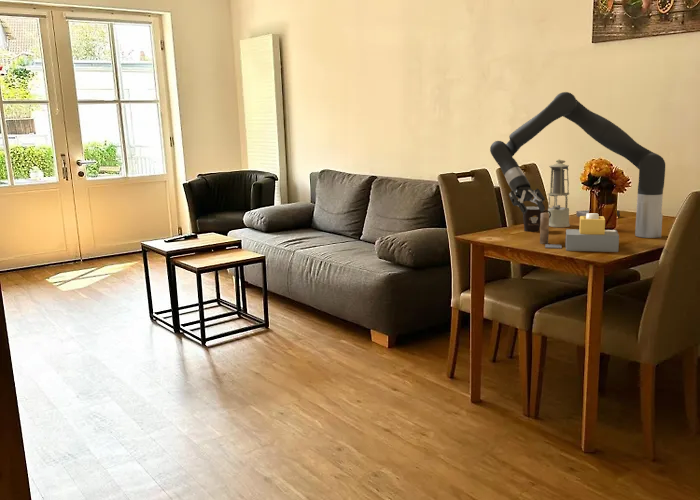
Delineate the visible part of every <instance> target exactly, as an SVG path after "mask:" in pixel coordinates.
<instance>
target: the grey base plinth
mask: <svg viewBox="0 0 700 500" xmlns="http://www.w3.org/2000/svg"><path fill="white" fill-rule="evenodd" d="M605 218H606V217H604V216H599V219H586V216H580V217H579V227H578V228H579V229H578V228H577V229H576V228H575V229H573V228H571V229H569V228H566V229H565V244H564V245H565V251H569V252H570V251H571V252H572V251H573V252H574V251H576V252H602V253H603V252H604V253H605V252H606V253H608V252H609V253H618V252H619V246H620V245H619V244H620V234H619V232H618V230H617V229H605V228H606V219H605Z"/></svg>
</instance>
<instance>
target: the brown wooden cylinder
mask: <svg viewBox="0 0 700 500" xmlns="http://www.w3.org/2000/svg"><path fill="white" fill-rule="evenodd" d="M549 227H550V226H549V213H548V212H544V213H541V219H540V231H539V244H541V245H545V244H549V235H550V234H549V233H550V231H549V229H550V228H549Z"/></svg>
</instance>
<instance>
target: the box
mask: <svg viewBox="0 0 700 500" xmlns="http://www.w3.org/2000/svg"><path fill="white" fill-rule="evenodd" d="M589 210H590V209H587V210H577V211H576V212H575V215H576V217H577V218H580V216H586V213H589ZM616 210H617V216H616V217H621V215H620V212H621V211H620V210H618V209H616Z"/></svg>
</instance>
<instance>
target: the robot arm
mask: <svg viewBox="0 0 700 500" xmlns="http://www.w3.org/2000/svg"><path fill="white" fill-rule="evenodd" d="M562 117H563V118H565V119H567V120H569V121H571V122H572V123H574V124H575V125H577V126H578V127H579V128H580V129H581V130H583V131H584V132H585V133H586V134H587V135H588V136H589V137H590V138H592V139H593V140H594V141H595V142H597V143H598V144H599V145H602V147H604V148H606V149H607V150H609V151H611V152H613V153H615V154H617V155H619V156H621V157H622V158H625V159H626V160H628V161H629V162H630V163H631V164H632V165H633V166H635V168H637V170H639V172H638V185H637V196H636V197H637V199H636V212H635V213H636V215H635V229H634V230H635V232H634V235H635V236H636V237H638V238H647V239H648V238H649V239H650V238H651V239H652V238H653V239H655V238H662V228H663V212H662V211H663V199H664V198H663V197H664V188H665V177H666V162H665V160H664V158H663V157H662V156H661V155H659V154H657V153H655V152H653V151H651V150H649V149H648V148H646V147H644V146H642V145H641V144H639V142H637V141H636V140H634V139H633V137H631V136H630V135H629V134H628V133H627V132H625V131H624V130H623V129H622V128H621V127H619V126H618V125H616V123H614V122H612V121H611V120H609V119H608V118H606V117H603V116H602V115H599V114H597V113H595V112H593V111H591V110H590V109H589V108H587V107H586V106H585V105H583V104H582V103H581V102H580V101H579V100H578V99H577V98H576V96H575V95H574V94H573V93H571V92H568V91H563V92H560V93H557V94H556V96H555V97H554V98H553V100H551V102H550V103H549V104H547V106H546V107H545V108H544V109H542V110H541V111H540V112H539V113H537V114H536V115H534V116H533V117H532V118H531V119H529V120H528V121H526V122H525V123H523V124H521V126H519V127H518V128H516V129H515V130H514V131H513V132H512V133H510V134H509V137H508V138H509V140H508V141H507V142H506V143H505V142H504V141H502V140H495V141H494V142H492V143H491V145H490V149H489V152H490V154H491V156H492V157H493V160H495V162H496V163H497V165H498V166H499V168H500V170H501V172H502V174H503V176H504V177H505V180H506V182H507V184H508V186H509V188H510V189H511V190H510V192H509V193H508V197H509V199H510V201H511V204H512V205H513V206H514V207H515V206H517V207H519V210H520V212H522V214H523V213H526V212H527V208H526V207H527V206H526V205H525V203H524V202H531V203H534V204H535V205H536V207H538V208H539V209H540V211H541V212H543V211H545V210H546V206H545V205H544V203H543V202H544V201H545V199H546V197H545V196H544V194H543V193H542V192H541V189H539V188H536V189H535V190H534V189H532V188H531V184H530V181H529V179H528V178H527V176H526V174H525V173H524V172H523V170H522V169H521V167H520V165H519V164H518V162H517V160H516V159H515V158H514V155H516V153H518V151H519V150H520V149H521V147H523V146H524V145H525V144H527V143H528V142H530V141H531V140H532V139H533V138H535V137H536V136H537V135H538V134H539V133H541V132H542V131H543V130H544V129H546V127H548V126H550V124H552V123H554V122H555V121H556V120H558V119H560V118H562Z"/></svg>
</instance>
